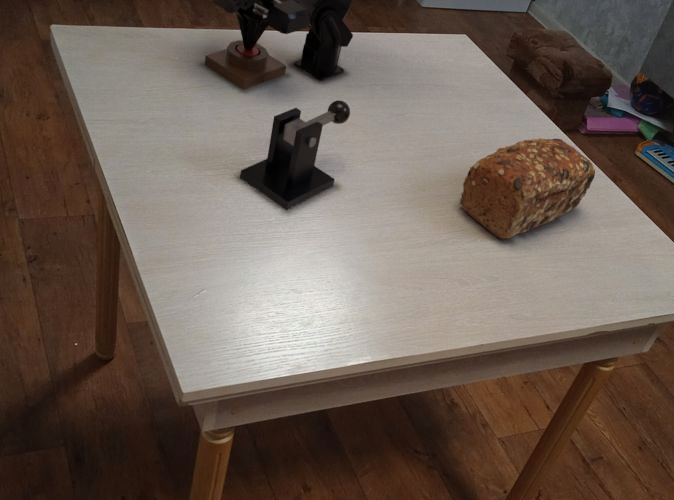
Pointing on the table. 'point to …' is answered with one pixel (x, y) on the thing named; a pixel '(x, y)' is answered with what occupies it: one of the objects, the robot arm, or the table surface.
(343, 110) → the lever
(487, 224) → the bread
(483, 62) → the table surface
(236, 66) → the button block
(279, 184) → the bracket
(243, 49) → the button
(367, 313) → the table surface
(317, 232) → the table surface
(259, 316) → the table surface
